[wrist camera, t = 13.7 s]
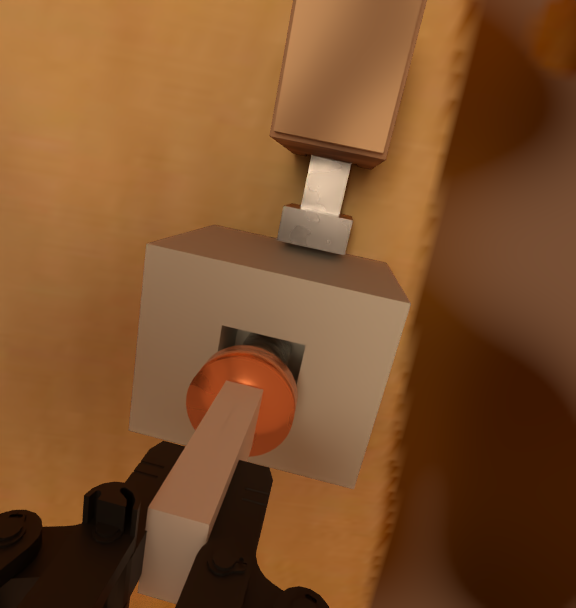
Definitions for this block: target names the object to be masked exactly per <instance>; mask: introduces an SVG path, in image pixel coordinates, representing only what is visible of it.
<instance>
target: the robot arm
mask: <svg viewBox="0 0 576 608" xmlns="http://www.w3.org/2000/svg"><path fill="white" fill-rule="evenodd" d="M262 395H263V389H259V388H255V387H251V386H247V385H243V384H239V383H235V382H231V381H227V380H226V382H225V383H224V385H223V387H222V388H221V390H220V392H219V393H218V395H217V396H216V398H215V400H214V401H213V403H212V405H211V406H210V408H209V409H208V411H207V413H206V414H205V416H204V418H203V419H202V421H201V422H200V424H199V426H198V427H197V429H196V431H195V432H194V434H193V435H192V437H191V439H190V440H189V442H188V444H187V445H186V447H185V446H181V445H177V444H173V443H170V442H166V441H162V442H161V443H159V444H158V445H156V446H154V447H153V448H151V449H150V450H149V451H148V452H147V454H146V455H145V456H144V458H143V459H142V460H141V463H139V464H138V466H137V467H136V468H135V470H134V472H132V474H131V475H130V477H129V478H128V479H127V481H126V482H125V483H122V482H110V483H104V484H101V485H99V486H97V487H94V488H92V489H91V490H90V491H89V492H88V493H86V494H85V495H84V506H83V522H82V524H78V525H73V526H58V527H42V521H41V518H40V517H39V516H38V515H37V514H36V513H34V512H31V511H28V510H12V511H8V512H5V513H1V514H0V608H129V601H130V596H131V594H132V592H133V590H134V588H135V586H136V584H137V582H138V580H139V586H138V593H140V594H143V595H147V596H150V597H154V598H157V599H161V600H164V601H167V602H171V603H174V604H176V607H175V608H329V606H328V605H327V603H326V602H325V601H324V600H323V598H322V597H321V596H320V595H319V594H317V593H316V592H314V591H313V590H311V589H308V588H304V587H300V586H298V587H292V588H288V589H286V590H285V591H283V590H281V589H280V588H278V587H277V586H275V585H274V584H273V583H271V582H270V581H269V580H268V579H267V578H266V577H265V576H264V575H263V573H262V572H261V571H260V568H259V566H258V564H257V559H256V550H257V546H258V542H259V538H260V533H261V529H262V525H263V521H264V517H265V513H266V508H267V504H268V500H269V495H270V491H271V487H272V482H273V479H272V476H271V472H270V468H269V467H265V466H261V465H257V464H254V463H250V462H247V460H248V457H249V454H250V451H251V448H252V443H253V439H254V434H255V429H256V424H257V419H258V414H259V409H260V405H261V400H262Z"/></svg>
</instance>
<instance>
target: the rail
mask: <svg viewBox="0 0 576 608" xmlns="http://www.w3.org/2000/svg"><path fill="white" fill-rule="evenodd" d="M350 167H351V163H348V162H343V161H338V160H333V159H329V158H324V157H319V156H314V155H311V160H310V165H309V170H308V175H307V179H306V184H305V189H304V194H303V199H302V204H301V205H298V204H293V203H291V204H288V205H284V206H283V211H282V217H281V222H280V227H279V232H278V237H277V240H278V241H282V242H287V243H291V244H296V245H300V246H305V247H309V248H314V249H318V250H323V251H327V252H332V253H336V254H341V255H345V251H346V247H347V243H348V239H349V235H350V231H351V227H352V223H353V219H352V216H349V215H344V214H340V210H341V206H342V201H343V197H344V193H345V189H346V184H347V180H348V176H349V172H350Z"/></svg>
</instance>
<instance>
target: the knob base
mask: <svg viewBox="0 0 576 608" xmlns="http://www.w3.org/2000/svg"><path fill="white" fill-rule="evenodd" d="M410 305H411V303H410V301H409V300H408V298H407V296H406V295H405V293H404V291H403V290H402V288H401V286H400V285H399V283H398V281H397V280H396V278H395V276H394V275H393V273H392V271H391V270H390V268H389V266H388V265H387V263H384V262H380V261H375V260H371V259H366V258H362V257H357V256H353V255H348V254H345V255H341V254H336V253H332V252H327V251H323V250H318V249H314V248H309V247H305V246H300V245H296V244H291V243H287V242H282V241H278V240H277V239H276V238H272V237H267V236H263V235H258V234H254V233H249V232H244V231H240V230H235V229H231V228H226V227H222V226H217V225H211V226H208V227H204V228H201V229H197V230H193V231H190V232H186V233H183V234H179V235H175V236H172V237H168V238H165V239H161V240H157V241H154V242H150V243H147V244H146V253H145V264H144V274H143V285H142V295H141V306H140V316H139V327H138V337H137V348H136V359H135V369H134V380H133V390H132V401H131V411H130V422H129V431H132V432H136V433H140V434H144V435H148V436H151V437H155V438H159V439H163V440H167V441H170V442H174V443H178V444H182V445H187V444H188V442H189V440H190V439H191V437H192V435H193V434H194V432H195V429H194V428H193V426H192V424H191V422H190V420H189V417H188V414H187V409H186V396H187V391H188V388H189V385H190V383H191V382H192V380H193V378H194V377H195V376H196V374H197V373H198V372H199V371H200V369H201V368H202V367H203V365H204V364H205V363H206V362H207V360H208V359H209V358H210V357H211V356H212V355H214V354H215V353H217V352H218V351H220V350H222V349H224V348H227V347H231V346H235V345H242V344H243V342H244V341H245V339H246V338H247V336H248V335H249V334H250V332H252V333H257V334H261V335H265V336H269V337H273V338H277V339H282V340H286V341H289V342H290V345H291V354H290V357H289V361H288V364H287V367H288V368H289V370H290V371H291V373H292V375H293V377H294V379H295V382H296V386H297V392H298V399H297V405H296V410H295V415H294V419H293V424H292V427H291V430H290V432H289V434H288V435H287V437H286V438H285V440H284V441H283V442H282V443H281V444H280V445H279V446H277V447H276V448H275V449H273V450H271V451H270V452H267V453H265V454H262V455H258V456H252V457H248V460H247V462H251V463H255V464H259V465H262V466H266V467H270V468H274V469H278V470H282V471H285V472H289V473H293V474H297V475H301V476H305V477H308V478H312V479H316V480H320V481H324V482H328V483H331V484H335V485H339V486H343V487H347V488H350V489H354V487H355V484H356V481H357V477H358V474H359V471H360V468H361V464H362V461H363V458H364V455H365V451H366V448H367V445H368V442H369V438H370V435H371V432H372V429H373V425H374V422H375V419H376V416H377V412H378V409H379V406H380V403H381V399H382V396H383V393H384V390H385V386H386V383H387V380H388V377H389V373H390V370H391V367H392V364H393V360H394V357H395V354H396V351H397V347H398V344H399V341H400V338H401V334H402V331H403V328H404V325H405V321H406V318H407V315H408V312H409V308H410Z"/></svg>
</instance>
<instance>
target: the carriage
mask: <svg viewBox="0 0 576 608" xmlns="http://www.w3.org/2000/svg"><path fill="white" fill-rule="evenodd" d="M426 2H427V0H293V4H292V10H291V16H290V22H289V27H288V33H287V39H286V45H285V50H284V56H283V62H282V68H281V73H280V79H279V85H278V91H277V97H276V102H275V108H274V114H273V120H272V125H271V131H270V137H272V138H273V139H274V140H276V141H277V142H278V143H280V144H281V145H283V146H284V147H285V148H287V149H288V150H289V151H291V152H292V153H294V154H298V155H303V156H307V155H308V154H309V155H314V156H319V157H324V158H329V159H333V160H338V161H343V162H348V163H353V164H358V165H357V167H361V168H366V169H373V168H374V167H376V166H377V165H379V164H380V163H382V162H383V161H385V160H386V157H387V153H388V149H389V145H390V141H391V137H392V133H393V129H394V126H395V122H396V118H397V114H398V110H399V106H400V102H401V99H402V95H403V91H404V87H405V83H406V79H407V75H408V71H409V68H410V64H411V60H412V56H413V52H414V48H415V44H416V40H417V37H418V33H419V29H420V25H421V21H422V17H423V13H424V10H425V6H426Z"/></svg>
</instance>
